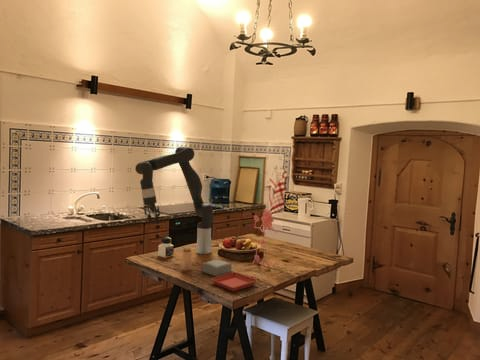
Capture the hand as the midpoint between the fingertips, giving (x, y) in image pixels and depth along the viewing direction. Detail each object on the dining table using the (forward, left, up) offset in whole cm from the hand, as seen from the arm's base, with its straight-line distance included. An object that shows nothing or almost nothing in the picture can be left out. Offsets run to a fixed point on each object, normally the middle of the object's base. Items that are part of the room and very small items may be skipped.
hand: (153, 222), depth 237 cm
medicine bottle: (-19, -13, -26) cm, 35 cm away
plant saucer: (-13, +53, -27) cm, 61 cm away
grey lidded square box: (-21, +32, -26) cm, 47 cm away
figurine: (-53, +43, -26) cm, 74 cm away
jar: (-11, +17, -26) cm, 33 cm away
